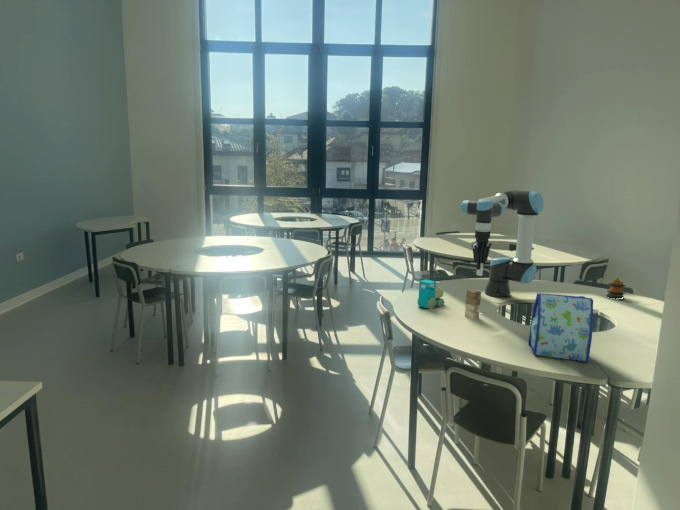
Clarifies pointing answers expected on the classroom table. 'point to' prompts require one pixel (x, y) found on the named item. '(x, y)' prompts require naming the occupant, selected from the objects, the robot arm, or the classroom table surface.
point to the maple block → (472, 311)
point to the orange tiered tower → (616, 289)
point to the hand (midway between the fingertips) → (479, 275)
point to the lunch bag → (562, 326)
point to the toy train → (430, 294)
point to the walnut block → (473, 297)
